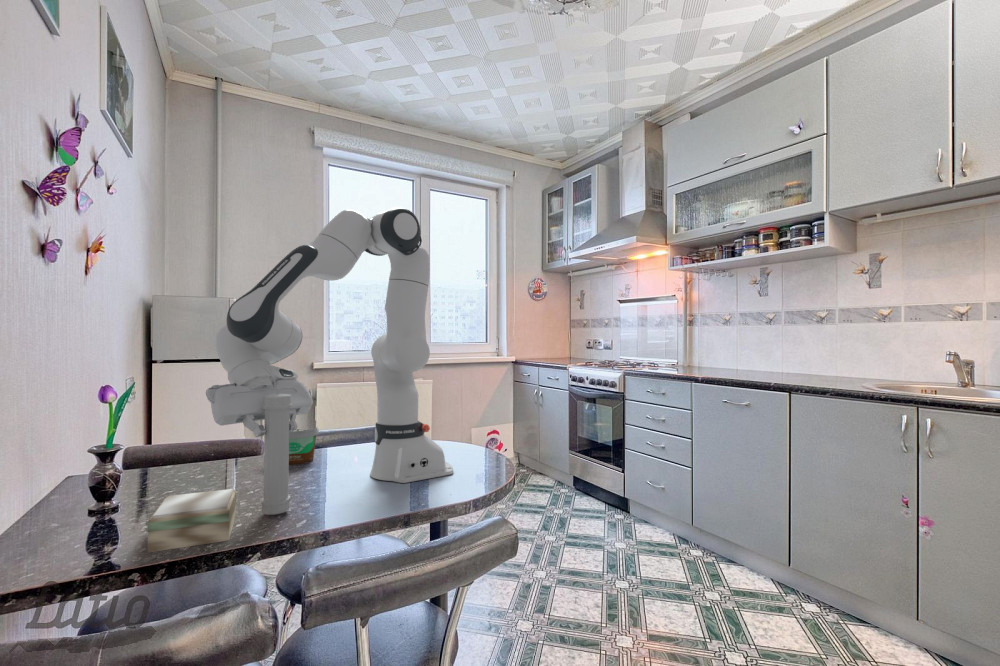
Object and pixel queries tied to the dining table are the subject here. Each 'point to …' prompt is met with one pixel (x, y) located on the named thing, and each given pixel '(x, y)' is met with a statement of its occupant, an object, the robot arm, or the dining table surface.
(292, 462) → the food container
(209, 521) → the stand
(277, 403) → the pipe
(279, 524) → the dining table surface
